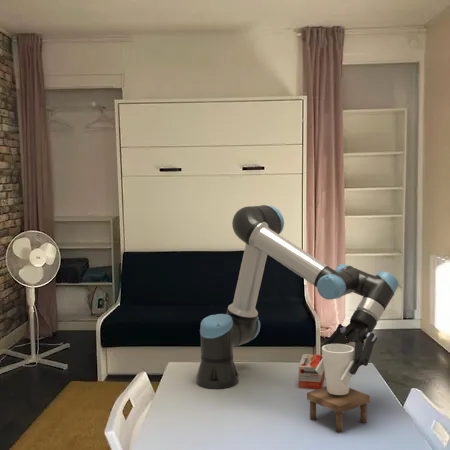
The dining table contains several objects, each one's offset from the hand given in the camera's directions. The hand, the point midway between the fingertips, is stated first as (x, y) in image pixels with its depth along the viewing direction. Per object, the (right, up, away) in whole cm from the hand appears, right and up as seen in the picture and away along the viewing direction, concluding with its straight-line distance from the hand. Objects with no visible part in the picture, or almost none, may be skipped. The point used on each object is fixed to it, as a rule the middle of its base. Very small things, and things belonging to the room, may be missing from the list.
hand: (330, 377), depth 159 cm
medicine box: (0, -12, +35) cm, 37 cm away
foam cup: (+3, -5, +2) cm, 6 cm away
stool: (+3, -14, +3) cm, 14 cm away
